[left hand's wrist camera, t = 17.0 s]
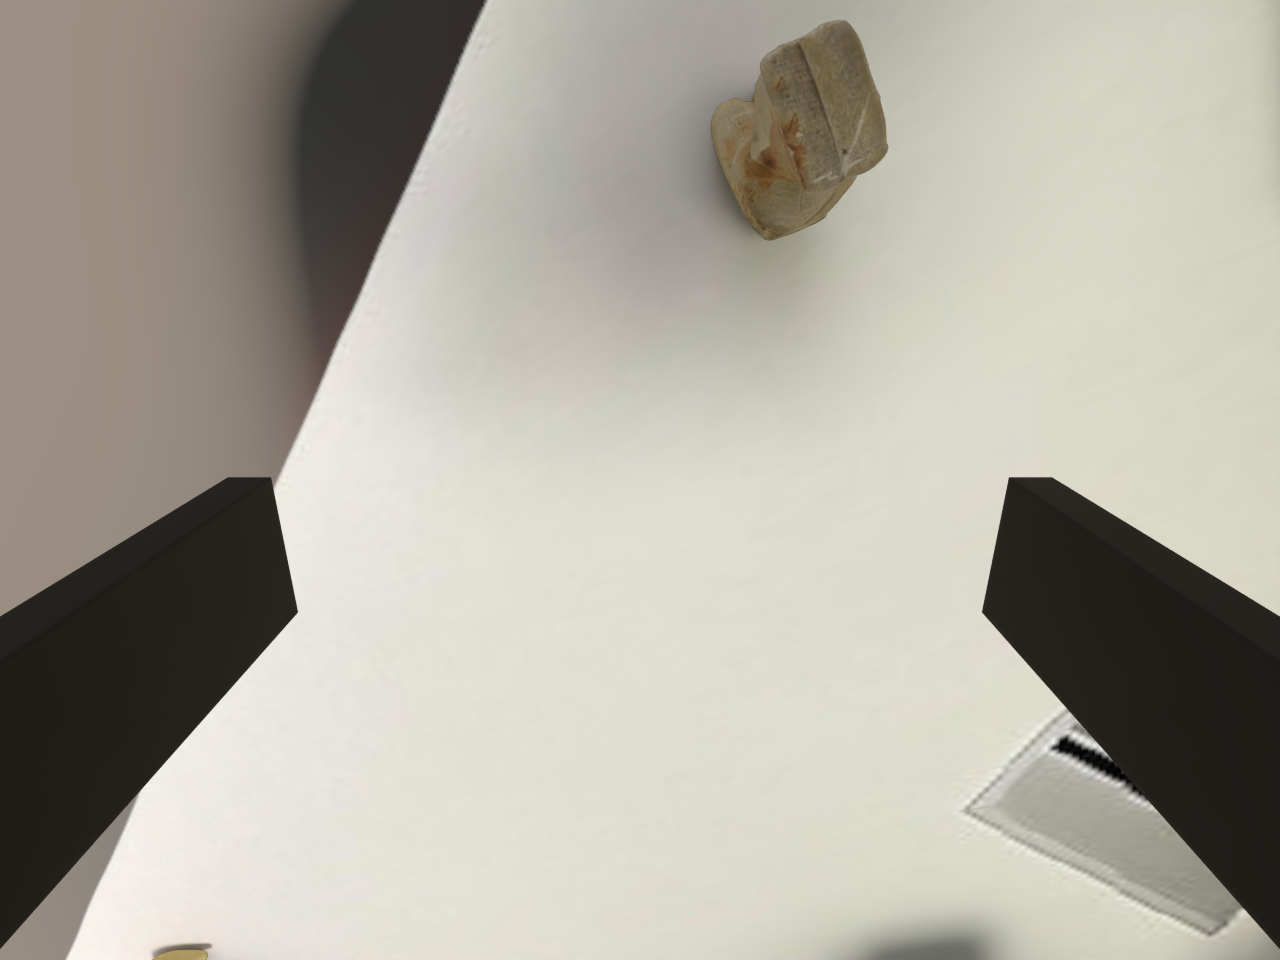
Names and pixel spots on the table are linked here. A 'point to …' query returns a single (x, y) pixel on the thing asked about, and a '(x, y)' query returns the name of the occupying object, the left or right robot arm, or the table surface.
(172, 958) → the toy gun
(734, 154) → the sculpture
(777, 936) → the table surface
